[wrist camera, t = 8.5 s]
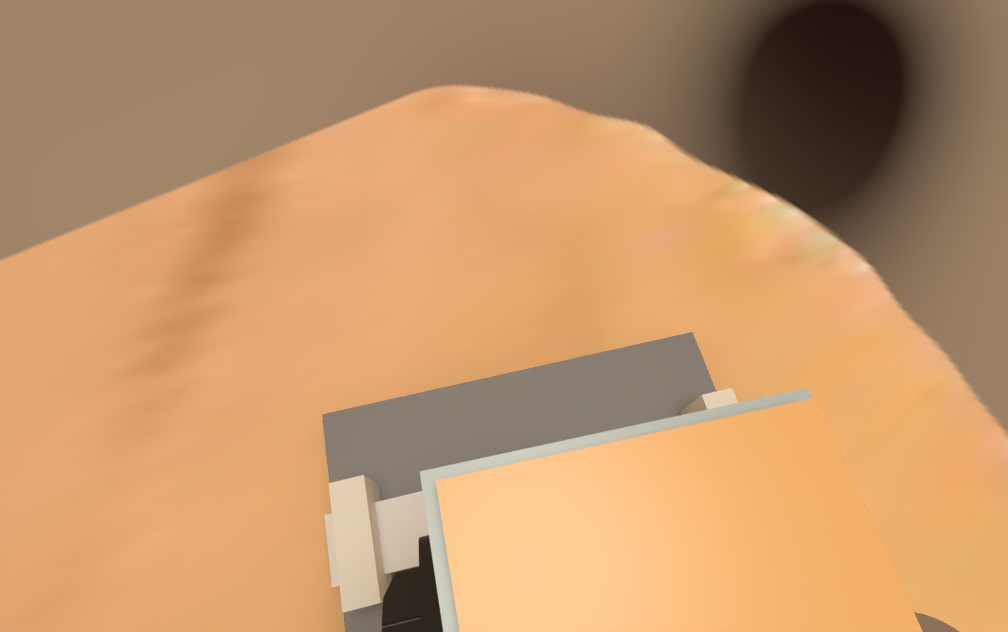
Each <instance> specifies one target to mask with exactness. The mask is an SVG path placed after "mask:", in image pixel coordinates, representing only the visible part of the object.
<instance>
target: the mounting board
mask: <svg viewBox="0 0 1008 632" xmlns="http://www.w3.org/2000/svg"><path fill="white" fill-rule="evenodd" d="M735 403H738V401H737V399H736V396H735V394H734V392H733V389H732V388H728V389H724V390H720V391H716V390H715V387H714V385H713V382H712V380H711V377H710V375H709V372H708V370H707V367H706V365H705V362H704V360H703V357H702V355H701V353H700V350H699V348H698V345H697V343H696V340H695V338H694V335H693V333H692V332H691V333H687V334H682V335H678V336H673V337H669V338H664V339H660V340H655V341H651V342H646V343H642V344H637V345H633V346H628V347H624V348H619V349H615V350H610V351H606V352H601V353H597V354H592V355H588V356H583V357H579V358H574V359H570V360H565V361H561V362H556V363H552V364H547V365H543V366H538V367H534V368H529V369H525V370H520V371H516V372H511V373H507V374H502V375H498V376H493V377H489V378H484V379H480V380H475V381H471V382H466V383H462V384H457V385H453V386H448V387H444V388H439V389H435V390H431V391H426V392H422V393H417V394H413V395H408V396H404V397H399V398H395V399H390V400H386V401H381V402H377V403H372V404H368V405H363V406H359V407H354V408H350V409H345V410H341V411H336V412H332V413H327V414H323V425H324V434H325V443H326V453H327V462H328V472H329V481H330V483H329V493H330V502H331V512H332V513H329V514H325V515H324V516H325V526H326V536H327V545H328V555H329V565H330V575H331V585H332V588H334V587H340V596H341V606H342V613H344V621H345V630H346V632H381V630H382V608H383V597H384V595H385V593H386V591H387V589H388V587H389V585H390V582H391V580H392V578H393V576H394V574H395V572H399V571H404V570H408V569H412V568H416V567H419V537H422V536H426V535H429V532H428V525H427V518H426V512H425V505H424V498H423V491H422V485H421V478H420V471H424V470H429V469H434V468H438V467H443V466H447V465H452V464H457V463H461V462H466V461H471V460H475V459H480V458H485V457H489V456H494V455H499V454H503V453H508V452H512V451H517V450H522V449H526V448H531V447H536V446H540V445H545V444H550V443H554V442H559V441H564V440H568V439H573V438H577V437H582V436H587V435H591V434H596V433H601V432H605V431H610V430H615V429H619V428H624V427H628V426H633V425H638V424H642V423H647V422H652V421H656V420H661V419H666V418H670V417H675V416H680V415H684V414H689V413H693V412H698V411H703V410H707V409H712V408H717V407H721V406H726V405H731V404H735Z"/></svg>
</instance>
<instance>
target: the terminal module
mask: <svg viewBox="0 0 1008 632" xmlns="http://www.w3.org/2000/svg"><path fill="white" fill-rule="evenodd" d="M420 478H421V485H422V491H423V498H424V505H425V512H426V518H427V525H428V532H429V539H430V545H431V552H432V559H433V566H434V572H435V579H436V586H437V593H438V599H439V606H440V613H441V620H442V626H443V632H923V631H922V629H921V627H920V624H919V622H918V620H917V618H916V616H915V613H914V611H913V609H912V607H911V605H910V603H909V600H908V598H907V596H906V594H905V592H904V589H903V587H902V585H901V583H900V581H899V578H898V576H897V574H896V572H895V570H894V567H893V565H892V563H891V561H890V559H889V556H888V554H887V552H886V550H885V548H884V545H883V543H882V541H881V539H880V537H879V535H878V532H877V530H876V528H875V526H874V524H873V521H872V519H871V517H870V515H869V513H868V510H867V508H866V506H865V504H864V502H863V499H862V497H861V495H860V493H859V491H858V488H857V486H856V484H855V482H854V480H853V478H852V475H851V473H850V471H849V469H848V467H847V464H846V462H845V460H844V458H843V456H842V453H841V451H840V449H839V447H838V445H837V442H836V440H835V438H834V436H833V434H832V431H831V429H830V427H829V425H828V423H827V420H826V418H825V416H824V414H823V412H822V410H821V407H820V405H819V403H818V401H817V399H816V398H811V396H810V394H809V392H808V389H807V388H805V389H800V390H796V391H791V392H786V393H782V394H777V395H772V396H768V397H763V398H758V399H754V400H749V401H745V402H740V403H735V404H731V405H726V406H721V407H717V408H712V409H707V410H703V411H698V412H693V413H689V414H684V415H680V416H675V417H670V418H666V419H661V420H656V421H652V422H647V423H642V424H638V425H633V426H628V427H624V428H619V429H615V430H610V431H605V432H601V433H596V434H591V435H587V436H582V437H577V438H573V439H568V440H564V441H559V442H554V443H550V444H545V445H540V446H536V447H531V448H526V449H522V450H517V451H512V452H508V453H503V454H499V455H494V456H489V457H485V458H480V459H475V460H471V461H466V462H461V463H457V464H452V465H447V466H443V467H438V468H434V469H429V470H424V471H420Z"/></svg>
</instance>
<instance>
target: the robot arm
mask: <svg viewBox="0 0 1008 632" xmlns="http://www.w3.org/2000/svg"><path fill="white" fill-rule="evenodd" d="M914 613H915V616H916V618H917V620H918V622H919V624H920V627H921V629H922V631H923V632H959V631H957V630H956V629H955V628H953V627H951V626H949V625H948V624H946V623H944V622H942V621H940V620H937V619H935V618H933V617H930V616H927V615H924V614H920V613H916V612H914ZM381 632H443V626H442V620H441V613H440V606H439V599H438V593H437V586H436V579H435V572H434V566H433V559H432V552H431V545H430V539H429V535H426V536H422V537H419V567H416V568H412V569H408V570H404V571H399V572H395V574H394V576H393V578H392V580H391V582H390V585H389V587H388V589H387V591H386V593H385V595H384V597H383V608H382V630H381Z"/></svg>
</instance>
